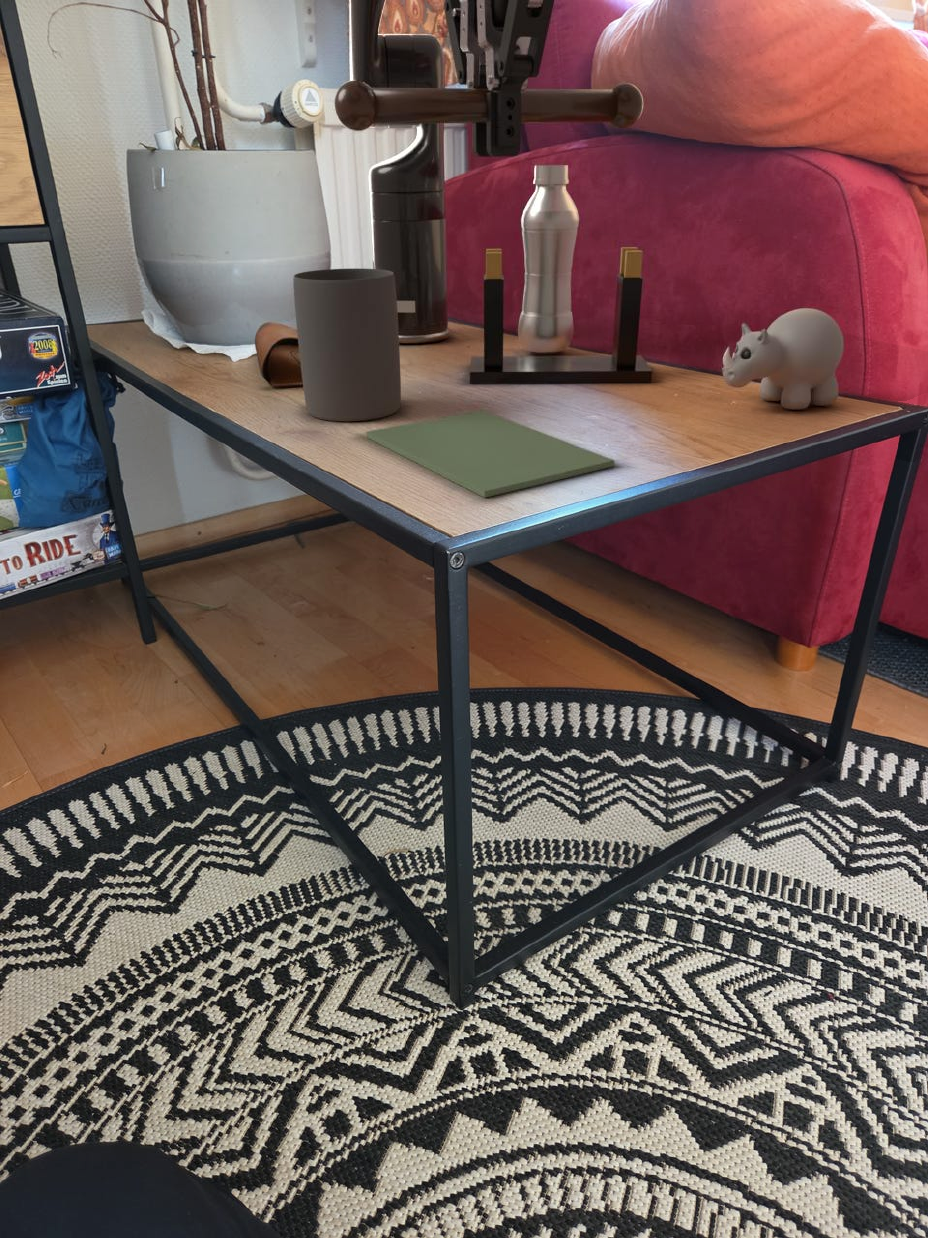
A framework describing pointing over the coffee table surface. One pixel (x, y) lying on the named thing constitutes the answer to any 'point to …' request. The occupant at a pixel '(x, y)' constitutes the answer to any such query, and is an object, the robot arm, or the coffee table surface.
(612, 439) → the coffee table surface
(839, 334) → the toy rhinoceros
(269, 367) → the sunglasses case
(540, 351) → the silver metal bottle
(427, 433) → the mat
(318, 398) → the mug
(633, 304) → the rack
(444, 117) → the knobbed wooden handle
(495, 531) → the coffee table surface
